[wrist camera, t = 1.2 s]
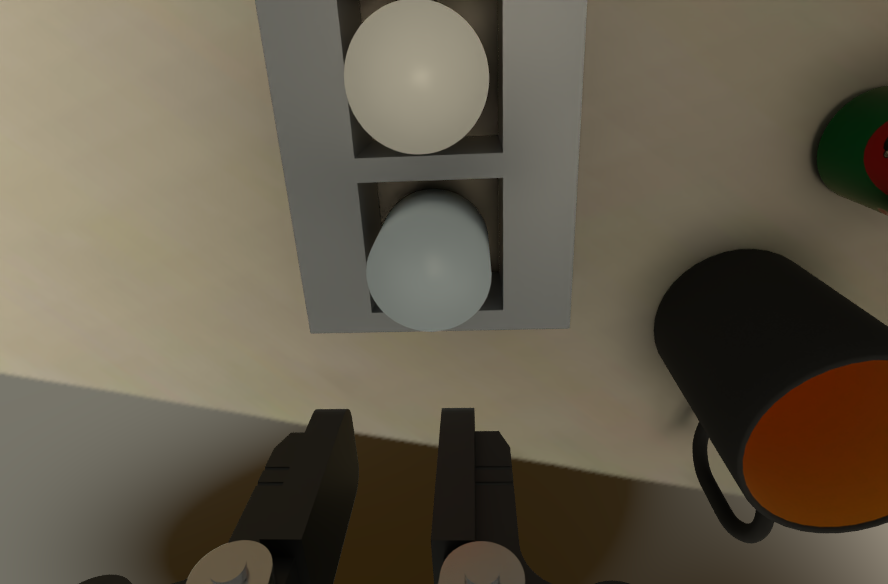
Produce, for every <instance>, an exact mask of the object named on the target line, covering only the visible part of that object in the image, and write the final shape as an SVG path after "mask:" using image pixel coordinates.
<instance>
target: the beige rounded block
mask: <svg viewBox="0 0 888 584" xmlns="http://www.w3.org/2000/svg"><path fill="white" fill-rule="evenodd" d="M344 85H345V90H346V95H347V99H348V102H349V105H350V107H351V109H352V112H353V114H354V115H355V117H356V119H357V120H358V122H359V123H360V124H361V126H362V127H363V128H364V130H365V131H366V132H367V133H368V134H369V135H370V136H372V137H373V138H374V139H375V140H377V141H378V142H379V143H381V144H383V145H384V146H386V147H388V148H390V149H393V150H395V151H399V152H402V153H407V154H430V153H434V152H438V151H441V150H443V149H446V148H448V147H450V146H452V145H453V144H455V143H457V142H458V141H459V140H461V139H462V138H463V137H464V136H465V135H466V134H467V133H468V132H469V131H470V130H471V129H472V127H473V126H474V125H475V123H476V122H477V120H478V118H479V117H480V115H481V113H482V110H483V108H484V105H485V102H486V99H487V94H488V88H489V68H488V62H487V57H486V54H485V51H484V48H483V46H482V44H481V41H480V39H479V37H478V36H477V34H476V33H475V31H474V30H473V28H472V27H471V26H470V25H469V23H468V22H467V21H466V20H465V19H464V18H463V17H461V16H460V15H459V14H458V13H457V12H455V11H454V10H452V9H451V8H449V7H447V6H445V5H443V4H441V3H438V2H435V1H431V0H399V1H395V2H392V3H389V4H387V5H385V6H383V7H381V8H380V9H378V10H377V11H375V12H374V13H372V14H371V15H370V16H369V17H368V18H367V19H366V20H365V21H364V22H363V23H362V24H361V25H360V27H359V28H358V30H357V31H356V33H355V34H354V36H353V38H352V40H351V42H350V45H349V48H348V51H347V54H346V59H345V65H344Z"/></svg>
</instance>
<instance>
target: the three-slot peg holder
mask: <svg viewBox="0 0 888 584" xmlns="http://www.w3.org/2000/svg"><path fill="white" fill-rule="evenodd" d="M255 3H256V9H257V15H258V21H259V27H260V33H261V39H262V45H263V51H264V57H265V63H266V69H267V75H268V81H269V87H270V93H271V99H272V105H273V111H274V117H275V123H276V129H277V135H278V141H279V147H280V153H281V159H282V165H283V171H284V177H285V183H286V189H287V195H288V201H289V207H290V213H291V219H292V225H293V231H294V237H295V243H296V249H297V255H298V261H299V267H300V273H301V279H302V285H303V291H304V297H305V303H306V309H307V315H308V321H309V327H310V332H311V333H359V332H411V331H419V330H414V329H411V328H408V327H405V326H403V325H401V324H399V323H397V322H395V321H394V320H392V319H391V318H389V317H388V316H387V315H386V314H385V313H384V312H383V311H382V310H381V309H380V308H379V307H378V305H377V304H376V302H375V301H374V299H373V297H372V295H371V293H370V290H369V287H368V283H367V278H366V267H367V260H368V256H369V254H370V251H371V249H372V246H373V244H374V242H375V240H376V238H377V236H378V234H379V232H380V230H381V221H380V210H379V200H378V190H377V182H401V181H428V180H456V179H484V178H498V200H499V272H491V274H492V275H491V285H490V290H489V293H488V296H487V298H486V300H485V302H484V304H483V305H482V306H481V308H480V309H479V310H478V311H477V312H476V314H475V315H474V316H472V317H471V318H470V319H469V320H467V321H466V322H464V323H462V324H460V325H458V326H456V327H454V328H451V329H447V330H442V331H463V330H515V329H567V328H570V312H571V294H572V275H573V256H574V238H575V219H576V201H577V182H578V164H579V145H580V127H581V108H582V90H583V71H584V53H585V34H586V16H587V0H497V30H498V135H496V136H472V137H463V138H462V139H461V140H459V141H458V142H457V143H455V144H453V145H452V146H450V147H448V148H446V149H443V150H441V151H438V152H434V153H430V154H407V153H402V152H399V151H395V150H393V149H390V148H388V147H386V146H384V145H383V144H381V143H379V142H378V141H377V140H374V141H373V139H372V136H370V135H369V134H368V133H367V132H366V131H365V130H364V128H363V127H362V126H361V124H360V123H359V122H358V120H357V119H356V117H355V115H354V114H353V112H352V109H351V107H350V105H349V102H348V99H347V95H346V90H345V85H344V65H345V59H346V54H347V51H348V48H349V45H350V42H351V40H352V38H353V36H354V34H355V33H356V31H357V30H358V28H359V27H360V25H361V16H360V6H359V0H255Z"/></svg>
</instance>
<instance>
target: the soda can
mask: <svg viewBox="0 0 888 584" xmlns="http://www.w3.org/2000/svg"><path fill="white" fill-rule="evenodd" d="M817 167H818V172H819V174H820V177H821V179H822V181H823V182H824V184H825V185H826V186H827V187H828V188H829V189H830V190H831V191H833V192H834V193H836V194H837V195H839V196H842V197H844V198H847V199H849V200H851V201H854V202H856V203H859V204H861V205H864V206H866V207H868V208H871V209H873V210H876V211H878V212H880V213H883V214H885V215H888V86H883V87H879V88H875V89H872V90H870V91H867V92H865V93H863V94H861V95H859V96H857V97H856V98H854V99H853V100H851V101H850V102H848V103H847V104H846V105H845V106H844V107H843V108H841V109H840V110H839V111H838V112H837V113H836V115H835V116H834V117H833V118H832V119H831V121H830V122H829V124H828V125H827V127H826V128H825V130H824V133H823V135H822V137H821V139H820V143H819V146H818V151H817Z"/></svg>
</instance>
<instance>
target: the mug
mask: <svg viewBox="0 0 888 584" xmlns="http://www.w3.org/2000/svg"><path fill="white" fill-rule="evenodd" d="M654 336H655V343H656V346H657V350H658V353H659V355H660V356H661V358H662V360H663V362H664V363H665V365H666V367H667V368H668V370H669V372H670V373H671V375H672V377H673V378H674V380H675V382H676V383H677V385H678V387H679V388H680V390H681V392H682V393H683V395H684V397H685V398H686V400H687V402H688V403H689V405H690V407H691V408H692V410H693V412H694V413H695V415H696V417H697V418H698V420H699V423H698V426H697V428H696V431H695V434H694V439H693V461H694V467H695V471H696V475H697V478H698V480H699V482H700V485H701V487H702V489H703V491H704V493H705V494H706V496H707V498H708V500H709V502H710V504H711V506H712V508H713V510H714V512H715V514H716V516H717V517H718V519H719V521H720V523H721V524H722V525H723V527H724V528H725V529H726V530H727V532H728V533H730V534H731V535H732V536H733V537H735V538H736V539H738V540H740V541H743V542H746V543H756V542H759V541H761V540H763V539H764V538H765V537H766V536H767V535H768V534H769V533H770V531H771V529H772V527H773V523H774V522H776V523H779V524H781V525H783V526H785V527H789V528H793V529H797V530H800V531H806V532H814V533H843V532H851V531H859V530H863V529H867V528H871V527H875V526H879V525H881V524H884V523H887V522H888V326H886V325H885V324H883V323H882V322H880V321H879V320H877V319H876V318H875V317H873V316H872V315H870V314H869V313H867V312H866V311H864V310H863V309H861V308H860V307H859V306H857V305H856V304H854V303H853V302H851V301H850V300H848V299H847V298H845V297H844V296H842V295H841V294H839V293H838V292H837V291H835V290H834V289H832V288H831V287H829V286H828V285H826V284H825V283H823V282H822V281H820V280H819V279H818V278H816V277H815V276H813V275H812V274H810V273H809V272H807V271H806V270H804V269H803V268H801V267H800V266H799V265H797V264H796V263H794V262H792V261H791V260H789V259H787V258H785V257H783V256H781V255H778V254H775V253H772V252H769V251H762V250H754V249H752V250H736V251H731V252H726V253H722V254H719V255H716V256H713V257H711V258H708V259H706V260H704V261H702V262H701V263H699V264H697V265H695V266H694V267H692V268H691V269H690V270H688V271H687V272H685V273H684V274H683V275H682V276H681V277H680V278H679V279H678V280H677V281H676V282H675V283H674V284H673V285H672V286H671V288H670V289H669V290H668V292H667V293H666V294H665V296H664V298H663V300H662V302H661V304H660V306H659V308H658V311H657V315H656V318H655V326H654ZM709 438H710V440H711V442H712V443H713V445H714V447H715V448H716V450H717V451H718V453H719V455H720V456H721V458H722V460H723V461H724V463H725V465H726V466H727V468H728V470H729V471H730V473H731V475H732V476H733V478H734V480H735V481H736V483H737V485H738V486H739V488H740V489H741V491H742V493H743V494H744V496H745V497H746V499H747V500H748V502H749V503H750V504H751V505H752V506H753V507H754V508H755V509H756V513H755V517H754V520H753V521H752V522H751V523H750V524H746V523H744V522H742V521H740V520H739V519H738V518H737V517H736V516H735V515H734V513H733V512H732V510H731V509H730V506H729V505H728V503H727V501H726V499H725V497H724V496H723V494H722V492H721V490H720V488H719V487H718V485H717V483H716V481H715V479H714V477H713V475H712V473H711V470H710V467H709V462H708V455H707V444H708V439H709Z"/></svg>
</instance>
